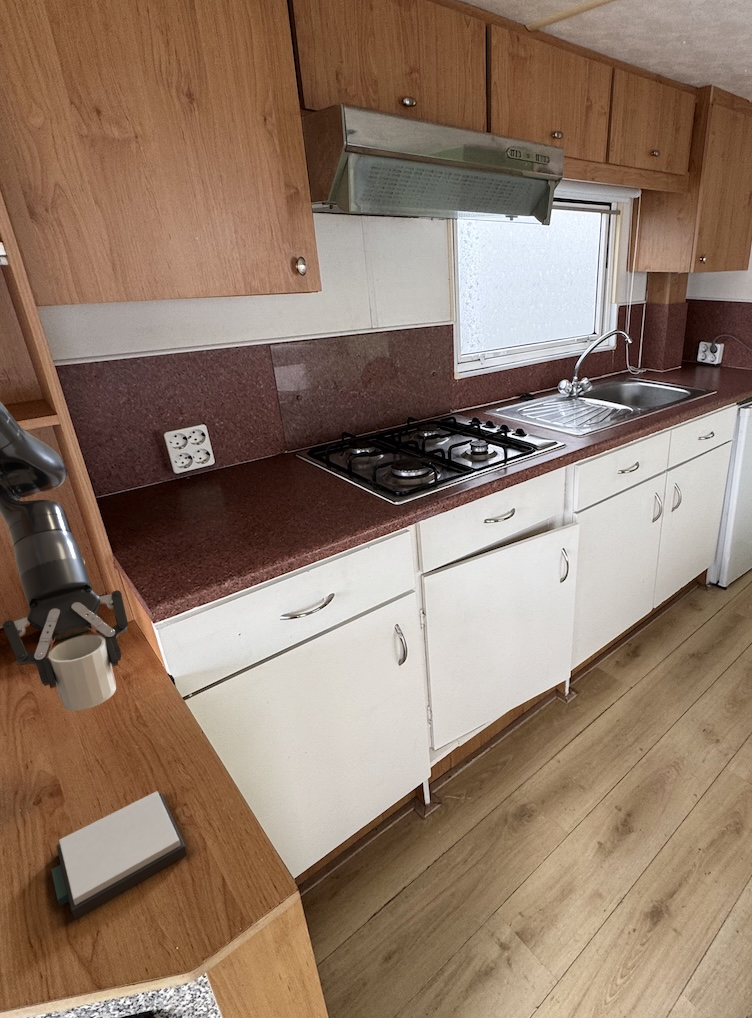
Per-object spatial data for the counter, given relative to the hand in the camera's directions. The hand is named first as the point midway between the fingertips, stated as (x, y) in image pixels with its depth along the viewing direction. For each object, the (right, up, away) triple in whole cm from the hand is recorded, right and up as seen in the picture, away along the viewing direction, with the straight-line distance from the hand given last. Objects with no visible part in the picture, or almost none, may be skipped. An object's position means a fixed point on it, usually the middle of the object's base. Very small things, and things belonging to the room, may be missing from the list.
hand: (85, 674), depth 80 cm
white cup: (-1, -4, +3) cm, 5 cm away
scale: (+9, -22, -6) cm, 24 cm away
